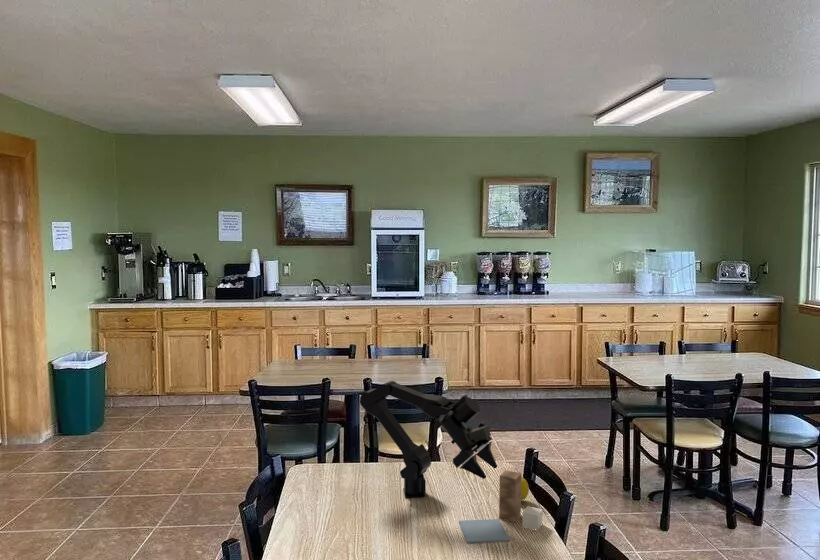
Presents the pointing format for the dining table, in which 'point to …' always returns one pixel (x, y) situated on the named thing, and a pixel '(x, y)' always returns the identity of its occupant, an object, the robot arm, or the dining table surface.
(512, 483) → the tall block
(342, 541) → the dining table surface
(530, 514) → the grey cube
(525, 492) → the lemon
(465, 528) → the slate mat
